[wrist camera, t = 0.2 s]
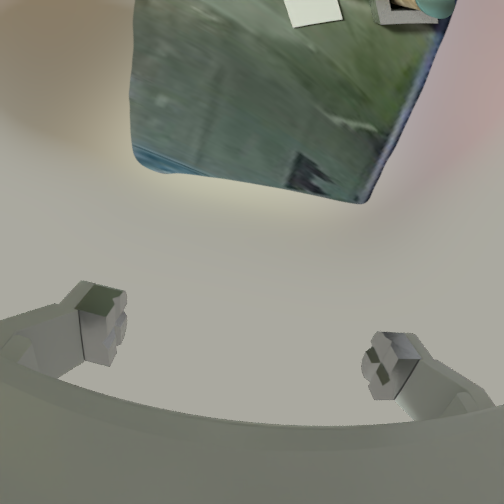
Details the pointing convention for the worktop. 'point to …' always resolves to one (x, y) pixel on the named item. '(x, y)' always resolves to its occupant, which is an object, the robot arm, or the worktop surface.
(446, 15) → the birch stopper
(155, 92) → the worktop surface
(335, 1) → the white mat
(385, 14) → the metal collar
